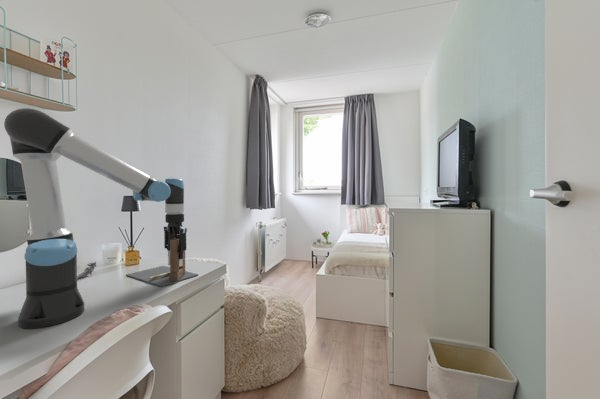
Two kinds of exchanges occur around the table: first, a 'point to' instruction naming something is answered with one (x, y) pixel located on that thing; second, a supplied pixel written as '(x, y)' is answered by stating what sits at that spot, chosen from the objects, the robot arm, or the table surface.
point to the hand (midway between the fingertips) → (175, 265)
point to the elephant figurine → (88, 270)
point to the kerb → (159, 276)
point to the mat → (151, 272)
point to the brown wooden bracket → (175, 261)
